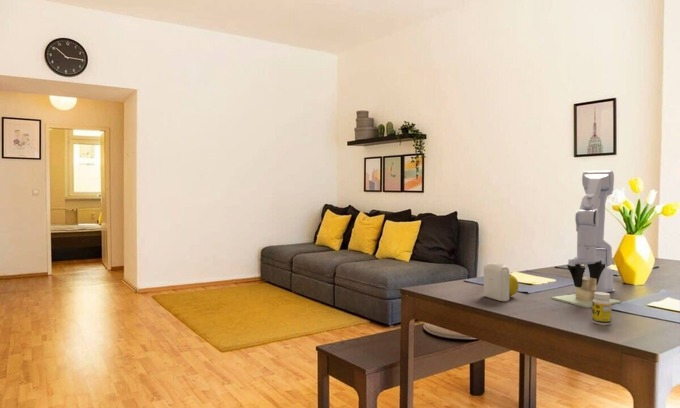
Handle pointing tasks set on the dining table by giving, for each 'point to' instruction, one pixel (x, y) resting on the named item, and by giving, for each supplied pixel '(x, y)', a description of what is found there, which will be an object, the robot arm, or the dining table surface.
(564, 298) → the felt mat
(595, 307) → the supplement bottle
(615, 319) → the dining table surface
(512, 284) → the lemon
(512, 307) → the dining table surface
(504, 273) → the photo printer
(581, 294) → the birch block
